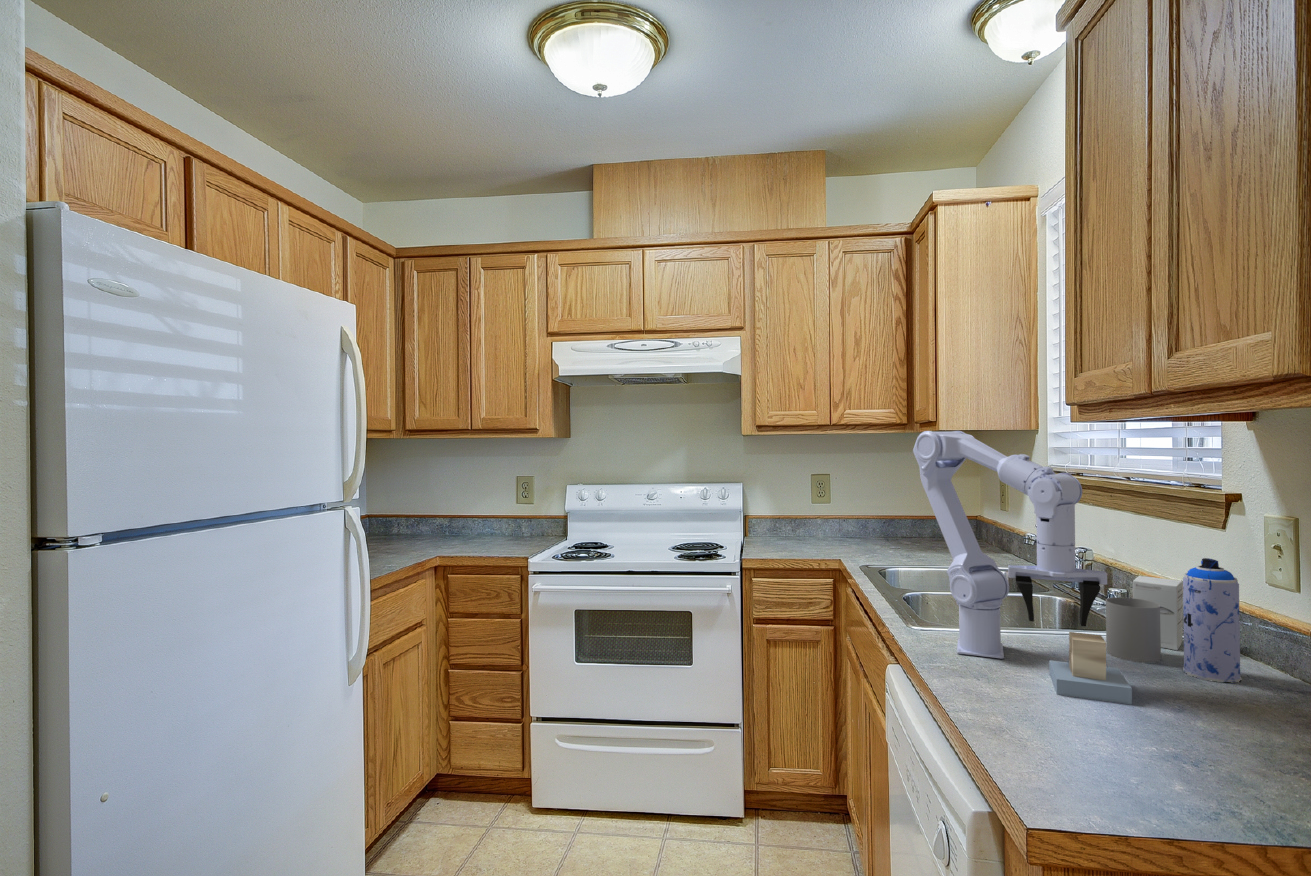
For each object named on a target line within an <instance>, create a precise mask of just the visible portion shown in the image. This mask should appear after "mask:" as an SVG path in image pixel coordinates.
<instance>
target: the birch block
mask: <svg viewBox="0 0 1311 876" xmlns="http://www.w3.org/2000/svg"><path fill="white" fill-rule="evenodd" d="M1068 635H1069V636H1068V640H1069V641H1068V645H1069V646H1068V654H1069V655H1068V661H1069V662H1068V663H1069V668H1070V670H1071V673H1072V675H1073V676H1076V677H1083V678H1091V679H1099V680H1106V667H1107V651H1106V640H1105V639H1104V638H1103V636H1102V635H1101V634H1092V633H1085V632H1083V633H1082V632H1073V631H1069V632H1068Z"/></svg>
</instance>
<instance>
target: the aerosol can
mask: <svg viewBox="0 0 1311 876" xmlns="http://www.w3.org/2000/svg"><path fill="white" fill-rule="evenodd" d="M1200 564H1201V565H1197V566H1195V567H1192V568H1190V569H1189V570H1187V572H1186V573H1184V574H1183V578H1182V581H1183V666H1182V672H1183V671H1184V672H1185V674H1186V673H1187V674H1186V675H1188V676H1190V675H1191V677H1192V676H1194V677H1193V678H1195V677H1197V678H1196V679H1199V680H1203V681H1207V680H1212V681H1218V682H1217V683H1219V682H1238V683H1240V682H1239V681H1240V680H1242V679H1243V678H1242V675H1241V645H1240V644H1241V640H1240V639H1241V637H1240V636H1241V635H1240V633H1241V632H1240V631H1241V630H1240V626H1241V625H1240V584H1239V582H1238V581H1239V580H1238V578H1237V577H1235V576H1234V575H1233V574H1232V572H1230V571H1229V570H1226V569H1225V568H1224V567H1220V565H1219V560H1216V559H1213V558H1208V557H1207V558H1205V557H1204V558H1201V561H1200ZM1212 681H1211V682H1212ZM1242 681H1243V680H1242Z"/></svg>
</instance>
